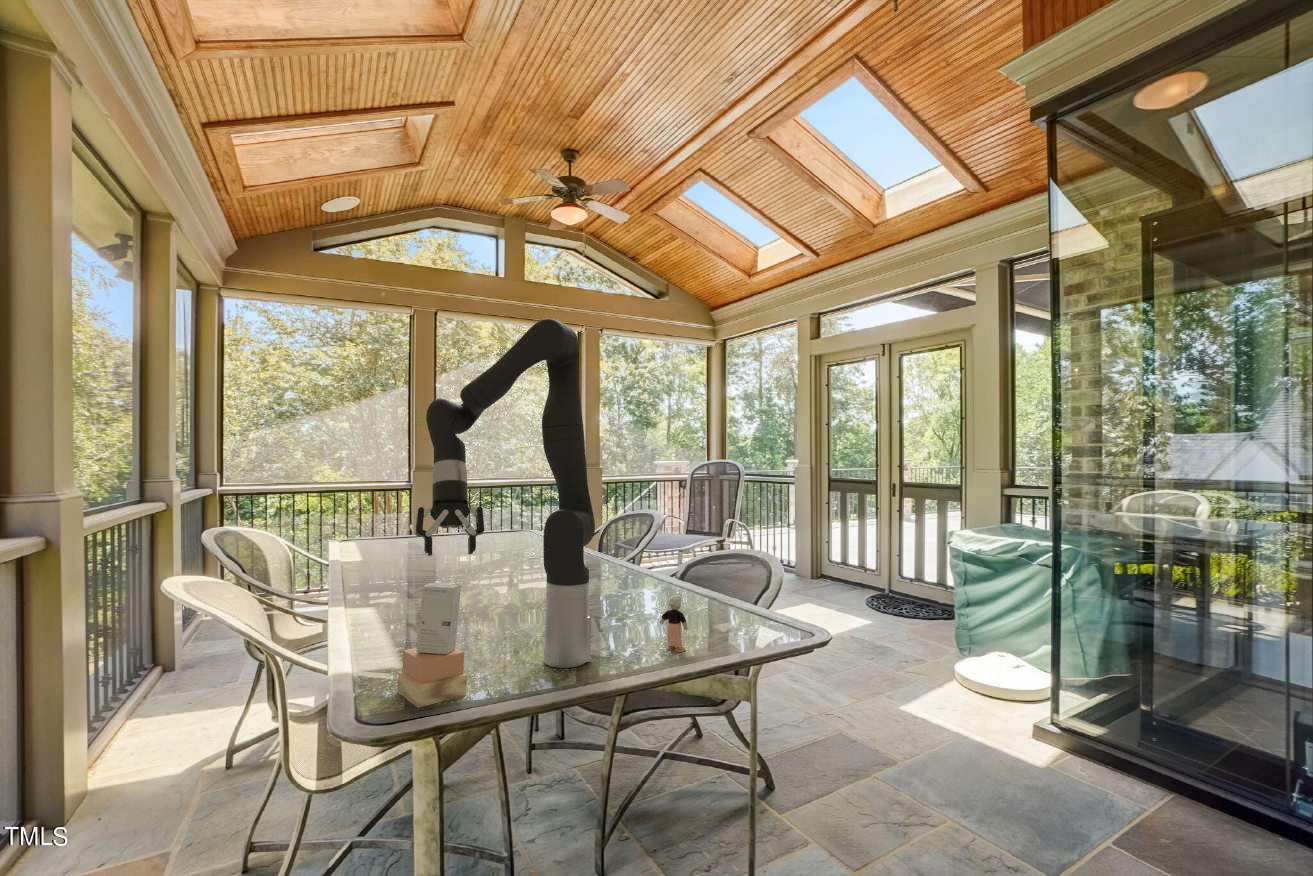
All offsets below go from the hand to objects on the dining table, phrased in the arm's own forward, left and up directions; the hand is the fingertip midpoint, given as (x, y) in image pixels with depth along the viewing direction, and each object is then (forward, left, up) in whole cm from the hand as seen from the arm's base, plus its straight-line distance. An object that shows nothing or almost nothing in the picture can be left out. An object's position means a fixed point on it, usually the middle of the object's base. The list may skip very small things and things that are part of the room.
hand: (450, 554), depth 133 cm
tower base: (+7, +18, -23) cm, 30 cm away
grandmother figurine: (-48, +18, -23) cm, 56 cm away
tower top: (+7, +18, -19) cm, 27 cm away
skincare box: (+7, +18, -15) cm, 25 cm away
